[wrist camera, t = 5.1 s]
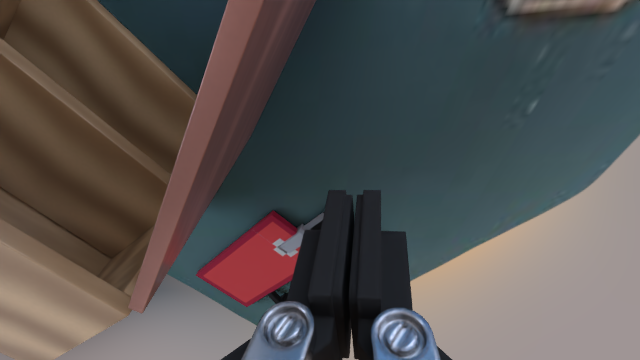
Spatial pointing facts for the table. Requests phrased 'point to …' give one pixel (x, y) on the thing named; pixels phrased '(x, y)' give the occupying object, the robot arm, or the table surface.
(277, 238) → the red board with handle
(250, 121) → the cupboard door
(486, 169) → the table surface
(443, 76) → the table surface
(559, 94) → the table surface
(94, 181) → the cupboard
